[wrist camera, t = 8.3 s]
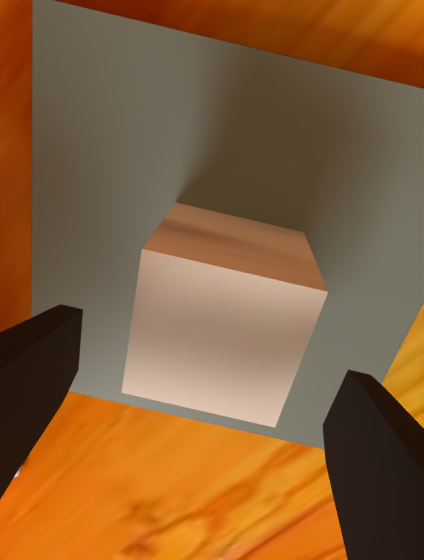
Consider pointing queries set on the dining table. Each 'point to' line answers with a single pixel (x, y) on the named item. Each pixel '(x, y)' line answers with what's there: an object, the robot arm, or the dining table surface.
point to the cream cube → (222, 314)
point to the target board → (221, 188)
